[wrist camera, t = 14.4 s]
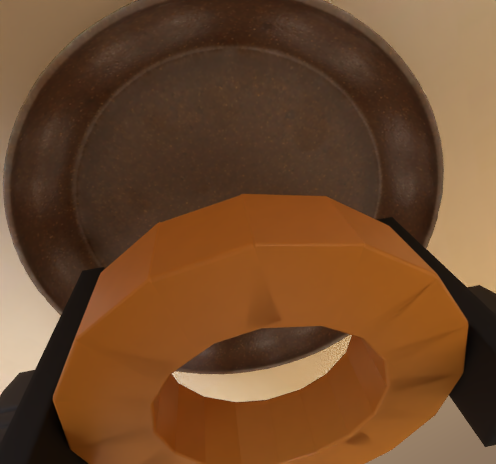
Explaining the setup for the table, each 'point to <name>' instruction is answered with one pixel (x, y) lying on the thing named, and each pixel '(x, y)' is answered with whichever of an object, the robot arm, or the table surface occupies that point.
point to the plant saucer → (214, 139)
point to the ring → (253, 318)
